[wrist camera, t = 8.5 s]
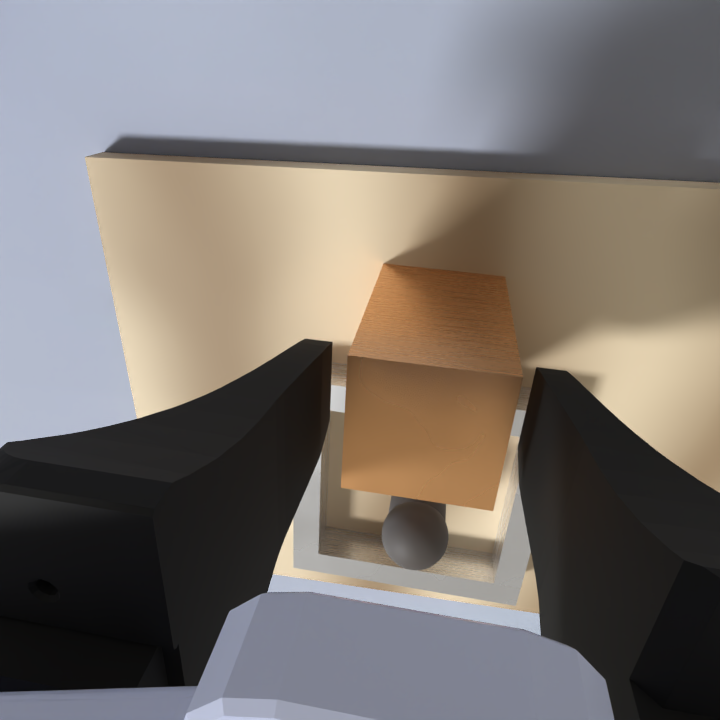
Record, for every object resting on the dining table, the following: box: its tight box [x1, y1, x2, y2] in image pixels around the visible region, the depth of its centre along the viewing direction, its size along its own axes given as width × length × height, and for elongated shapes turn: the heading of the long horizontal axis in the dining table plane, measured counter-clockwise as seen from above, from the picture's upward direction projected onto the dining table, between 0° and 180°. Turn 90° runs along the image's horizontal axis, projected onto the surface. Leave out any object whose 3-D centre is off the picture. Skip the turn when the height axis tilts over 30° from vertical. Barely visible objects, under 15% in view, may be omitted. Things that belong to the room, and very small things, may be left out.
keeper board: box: [85, 152, 720, 613], centre depth 15 cm, size 18×14×4 cm
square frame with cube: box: [293, 263, 531, 606], centre depth 14 cm, size 10×7×5 cm
